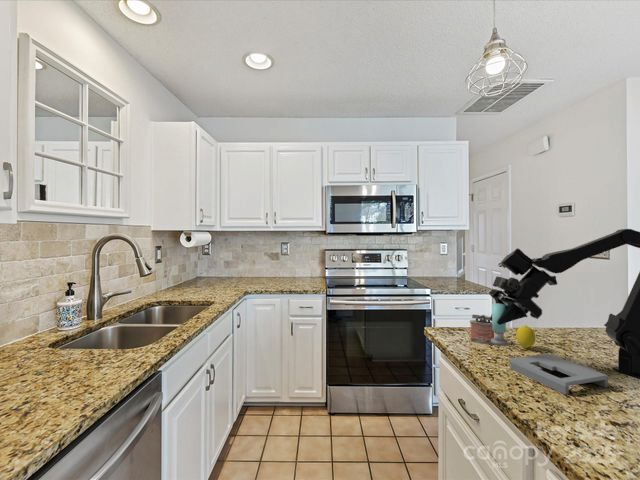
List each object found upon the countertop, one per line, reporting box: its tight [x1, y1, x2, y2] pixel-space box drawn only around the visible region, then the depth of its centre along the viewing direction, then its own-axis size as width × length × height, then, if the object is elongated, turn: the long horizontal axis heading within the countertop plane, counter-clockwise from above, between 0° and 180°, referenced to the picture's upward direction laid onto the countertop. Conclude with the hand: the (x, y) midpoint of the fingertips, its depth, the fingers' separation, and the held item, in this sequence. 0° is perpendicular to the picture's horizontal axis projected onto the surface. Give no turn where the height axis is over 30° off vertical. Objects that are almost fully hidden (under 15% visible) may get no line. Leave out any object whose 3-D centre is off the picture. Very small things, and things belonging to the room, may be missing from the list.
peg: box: [491, 302, 509, 347], centre depth 97 cm, size 4×4×12 cm
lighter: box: [469, 314, 495, 345], centre depth 115 cm, size 8×3×10 cm, turn 58°
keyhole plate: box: [509, 352, 609, 396], centre depth 86 cm, size 14×16×3 cm
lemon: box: [515, 324, 536, 349], centre depth 108 cm, size 6×6×8 cm
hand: (494, 322), depth 97 cm, fingers closed on peg, 4 cm apart
